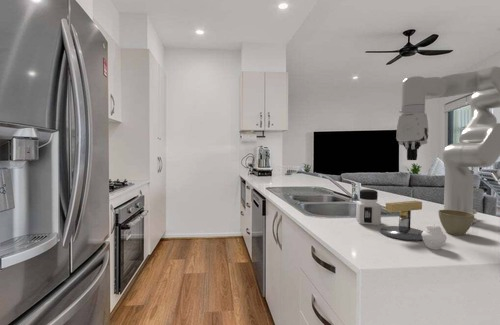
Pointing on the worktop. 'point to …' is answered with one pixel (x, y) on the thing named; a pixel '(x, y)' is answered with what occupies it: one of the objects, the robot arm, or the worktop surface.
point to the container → (368, 208)
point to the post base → (402, 235)
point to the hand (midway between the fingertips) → (411, 159)
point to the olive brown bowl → (456, 221)
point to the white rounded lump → (433, 237)
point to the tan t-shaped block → (403, 207)
